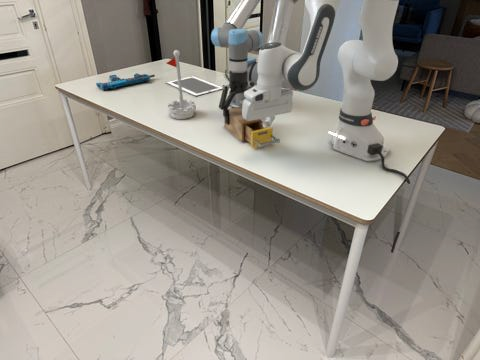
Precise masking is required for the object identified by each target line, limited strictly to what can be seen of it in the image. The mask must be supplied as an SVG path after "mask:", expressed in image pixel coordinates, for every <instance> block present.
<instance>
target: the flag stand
mask: <svg viewBox="0 0 480 360" xmlns="http://www.w3.org/2000/svg"><path fill="white" fill-rule="evenodd" d="M180 55H181V51H180V50H178V49H175V50H174V51H173V56H174V57H173V58H172V59H170V60H168V61H167V62H166V63H165V64H167V65H169V66H172V67H174V68H176V78H177V80H178V88H177V89H178V96H179V101H178V100H177V99H175V100H171V102H169V103H168V104H167V107H168V111H169V112H170V115H171V117H172V118H173V119H177V120H186V119H190V118H192V117H194V115H195V111H196V108H197V106H196V103H195V101H194V100H189V101H187V99H186V98H185V99H184V95H183V90H182V85H181V79H182V76H181V65H180Z"/></svg>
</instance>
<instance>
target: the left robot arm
mask: <svg viewBox="0 0 480 360" xmlns="http://www.w3.org/2000/svg"><path fill="white" fill-rule="evenodd" d="M260 3H261V0H238V3H237V4H236V5H235V6H234V9H233V10H232V11H231V13H230V14H229V16H228V17H227V19H226V20H225V22H224V23H223V25H222V26H221V27H220V26H219V27H215V28H213V29H212V30H211V34H210V40H211V43H212V45H214V46H215V47H219V48H226V49H228V69H229V72H228V75H227V69H225V71H224V75H225V78H226V79H227V80H228V81H229V83H228V84H223V85H222V86H221V87H223V89H222V92H221V96H220V98H219V99H220V100H219V103H218V108H219V109H220V110H222V115H223V118H224V117H225V123H226V124H228V125H229V110H228V109H229V107H231V108H235V107H241V106H243V101H244V99H245V98H246V97H244V92H245V91H247V90H249V89H250V88H252V87H254V86H255V85H257V80H258V72H257V64H258V61H257V58H256V57H253V56H249V55H248V54H249V53H251V52H254V51H257V50H258V49H260V48H261V47H262V46H263V45H264V41H265V39H264V35H263V33H262V32H261V31H260V30H258V29H251V30H248V29H245V28H244V27H245V25H246V23H247V21H248V20H249V19H250V17H251V16H252V14H253V13H254V11H255V10H256V8H257V6H258V5H259V4H260ZM297 3H299V0H274V7H273V10H272V11H273V12H272V16H271V21H270V26H269V30H268V36H267V41H266V44H267V43H271V42H279V43H281V44H282V45H283V46H285V47H286V42H287V37H288V33H289V29H290V24H291V19H292V16H293V11H294V7H295V5H296V4H297ZM285 81H286V80H283V81H282V86H283V85H284V83H285Z"/></svg>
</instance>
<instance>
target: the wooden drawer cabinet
mask: <svg viewBox="0 0 480 360" xmlns="http://www.w3.org/2000/svg"><path fill="white" fill-rule="evenodd" d="M228 110H229V125H228V124H226V123H225V117H224V116H223V121H224V123H223V124H224V128H225V129H226V130H227V131H228V132H229V133H230V134H232V135H233V136H234V137H235V138H236V139H238V141H240V142H241V143H247V142H248V141H247V140H246V139H245V138H244V125H247V124H252V123H256V122H262V120H261V119H256V120H252V121H247V120H245V119H244V118H243V117H242V106H241V107H235V108H233V107H231V108H228ZM262 123H263V122H262Z"/></svg>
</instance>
